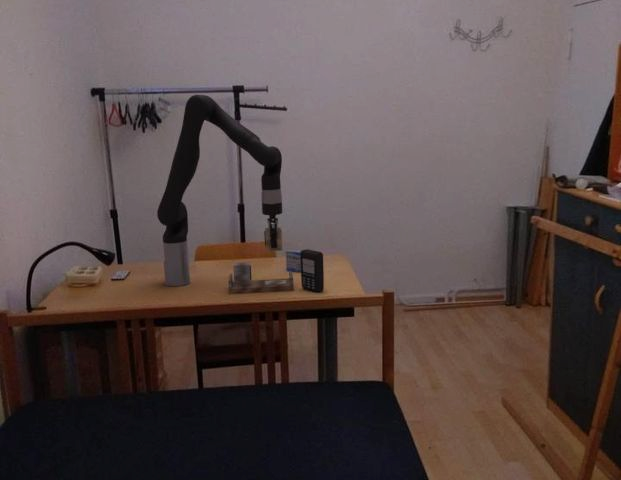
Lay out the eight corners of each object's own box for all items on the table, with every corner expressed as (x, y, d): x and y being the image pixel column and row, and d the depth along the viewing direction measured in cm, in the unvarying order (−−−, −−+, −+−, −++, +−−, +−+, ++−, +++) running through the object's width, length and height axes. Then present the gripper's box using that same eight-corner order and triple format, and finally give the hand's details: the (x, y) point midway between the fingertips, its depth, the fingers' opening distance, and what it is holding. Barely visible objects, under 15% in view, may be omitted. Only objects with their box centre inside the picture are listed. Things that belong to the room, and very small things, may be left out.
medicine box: (286, 271, 249) (285, 251, 247) (291, 268, 253) (290, 248, 251) (302, 272, 245) (301, 252, 243) (307, 270, 249) (306, 250, 247)
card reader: (300, 288, 223) (298, 250, 220) (307, 286, 226) (306, 248, 222) (317, 293, 216) (316, 253, 213) (324, 291, 219) (323, 251, 216)
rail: (229, 294, 219) (227, 268, 217) (230, 286, 229) (228, 261, 227) (293, 290, 221) (292, 264, 219) (292, 283, 231) (291, 258, 229)
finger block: (265, 251, 220) (264, 230, 218) (265, 248, 224) (264, 228, 222) (282, 250, 221) (281, 229, 219) (281, 248, 224) (281, 227, 223)
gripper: (261, 199, 225) (263, 243, 229) (261, 204, 211) (264, 251, 215) (281, 198, 226) (283, 242, 229) (282, 203, 212) (284, 250, 215)
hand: (273, 246), depth 222 cm, fingers closed on finger block, 4 cm apart
